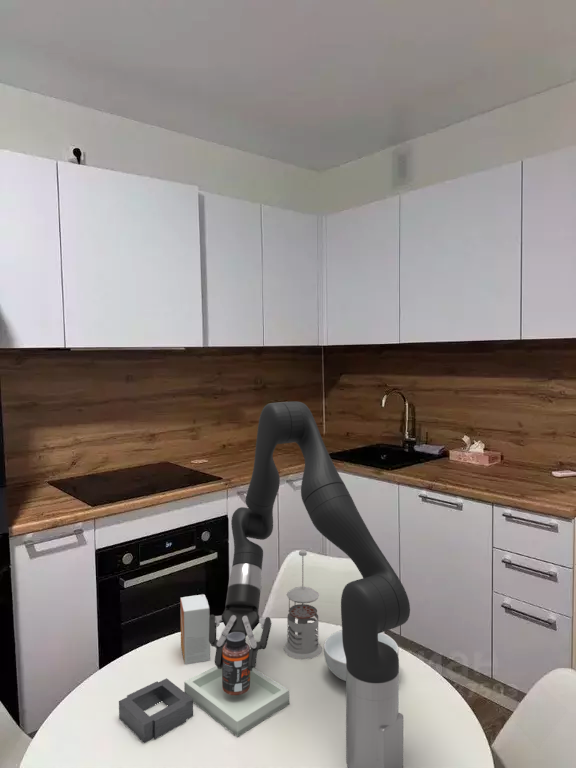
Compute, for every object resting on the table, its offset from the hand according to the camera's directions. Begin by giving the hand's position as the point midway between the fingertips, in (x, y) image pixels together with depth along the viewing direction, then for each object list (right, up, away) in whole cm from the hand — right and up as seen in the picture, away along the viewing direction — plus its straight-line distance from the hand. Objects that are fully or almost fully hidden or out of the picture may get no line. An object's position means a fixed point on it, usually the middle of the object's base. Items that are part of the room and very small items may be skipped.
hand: (234, 668), depth 111 cm
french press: (+14, -7, +23) cm, 28 cm away
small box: (-12, -7, +20) cm, 24 cm away
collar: (-15, -8, -4) cm, 18 cm away
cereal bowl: (+28, -8, +11) cm, 31 cm away
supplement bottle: (0, -6, +2) cm, 6 cm away
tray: (0, -8, +2) cm, 8 cm away
